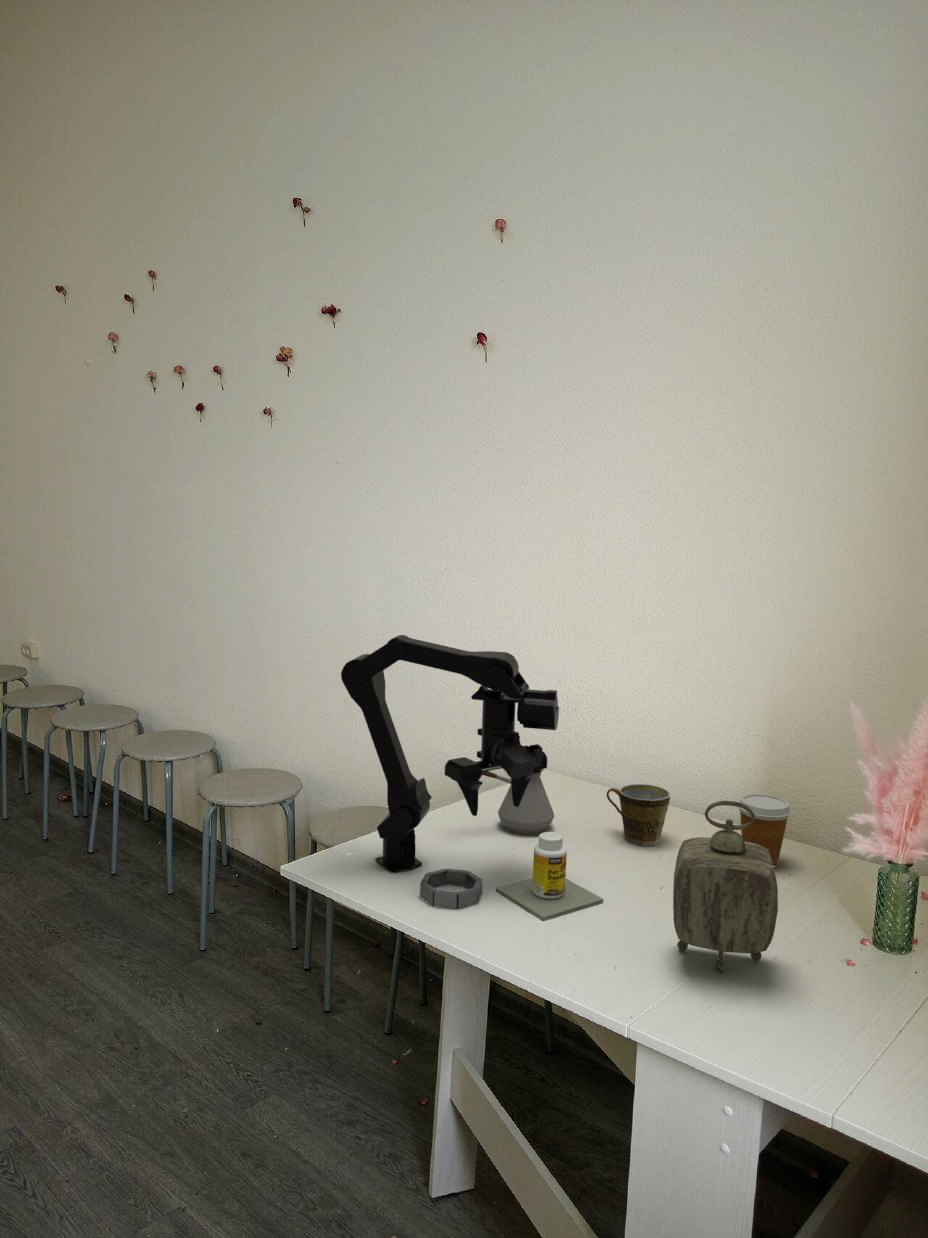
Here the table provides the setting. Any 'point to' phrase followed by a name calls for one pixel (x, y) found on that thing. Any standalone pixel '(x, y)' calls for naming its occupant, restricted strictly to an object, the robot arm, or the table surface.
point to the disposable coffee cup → (765, 822)
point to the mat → (549, 908)
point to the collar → (447, 897)
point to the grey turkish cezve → (526, 807)
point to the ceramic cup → (642, 812)
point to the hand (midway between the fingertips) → (495, 811)
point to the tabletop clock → (725, 892)
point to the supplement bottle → (549, 866)
